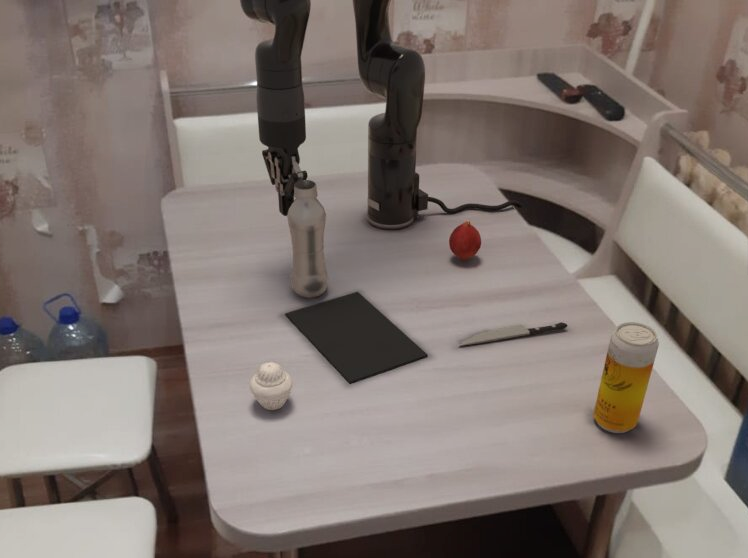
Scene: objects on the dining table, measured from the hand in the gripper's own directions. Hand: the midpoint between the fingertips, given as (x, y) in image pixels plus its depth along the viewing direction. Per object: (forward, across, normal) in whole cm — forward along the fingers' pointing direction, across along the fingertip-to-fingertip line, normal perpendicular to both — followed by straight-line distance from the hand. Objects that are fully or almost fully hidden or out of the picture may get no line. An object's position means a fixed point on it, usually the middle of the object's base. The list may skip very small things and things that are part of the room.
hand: (286, 213), depth 141 cm
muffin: (+12, -32, +18) cm, 39 cm away
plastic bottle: (+12, -7, 0) cm, 14 cm away
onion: (+12, -11, -30) cm, 34 cm away
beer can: (+12, -60, -22) cm, 65 cm away
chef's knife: (+12, -35, -23) cm, 43 cm away
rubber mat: (+12, -22, 0) cm, 26 cm away
